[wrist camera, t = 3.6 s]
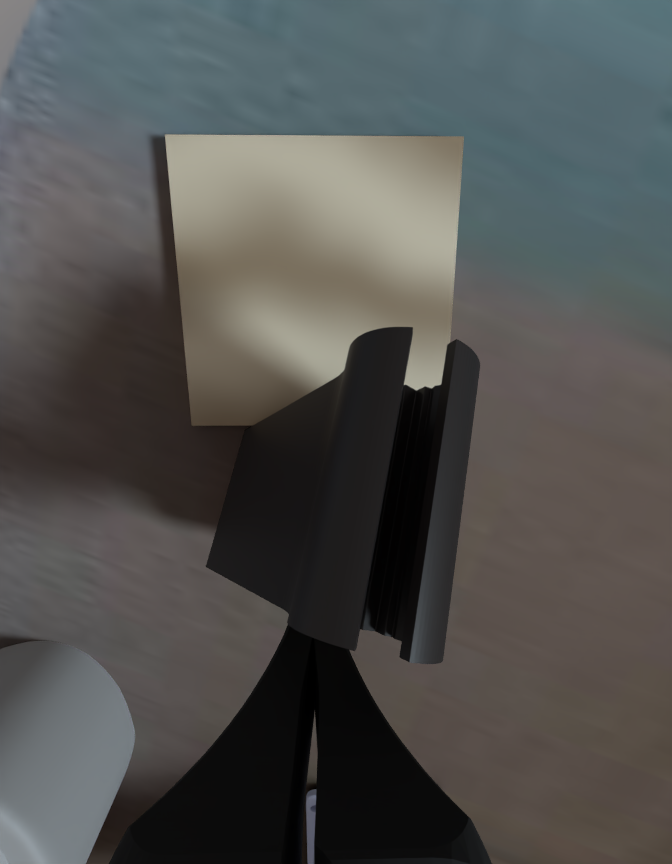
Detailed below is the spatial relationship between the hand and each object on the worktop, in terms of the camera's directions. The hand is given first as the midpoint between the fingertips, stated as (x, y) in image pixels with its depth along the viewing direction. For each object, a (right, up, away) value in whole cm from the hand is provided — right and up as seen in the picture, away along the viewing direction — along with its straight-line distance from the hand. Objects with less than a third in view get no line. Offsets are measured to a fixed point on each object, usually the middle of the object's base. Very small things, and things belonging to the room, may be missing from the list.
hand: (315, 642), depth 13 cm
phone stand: (0, +2, +7) cm, 7 cm away
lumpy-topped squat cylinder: (-16, -11, +12) cm, 22 cm away
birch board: (0, +12, +5) cm, 13 cm away
